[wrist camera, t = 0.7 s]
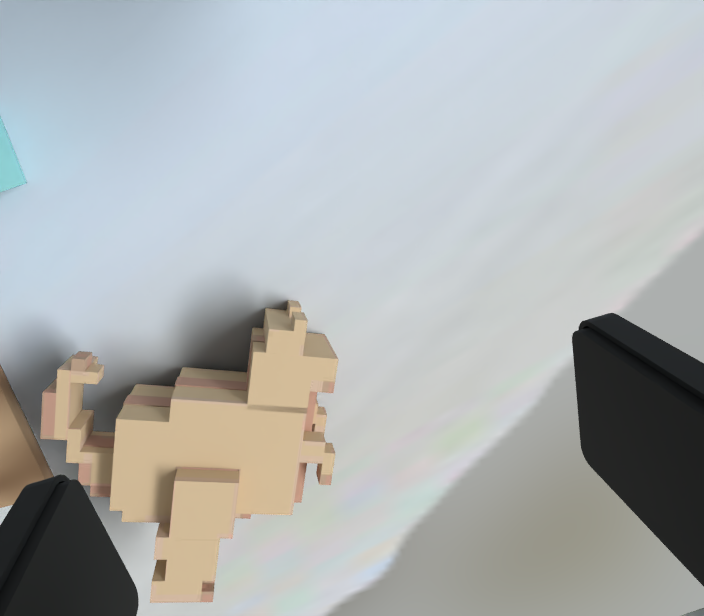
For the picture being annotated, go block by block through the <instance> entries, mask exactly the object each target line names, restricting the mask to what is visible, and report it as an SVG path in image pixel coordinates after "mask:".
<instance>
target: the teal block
mask: <svg viewBox="0 0 704 616" xmlns="http://www.w3.org/2000/svg"><path fill="white" fill-rule="evenodd" d="M25 183H27V182H26V179H25V177H24V174H23V172H22V169H21V167H20V164H19V162H18V159H17V157H16V154H15V152H14V149H13V147H12V144H11V142H10V139H9V137H8V134H7V132H6V129H5V127H4V124H3V122H2V119H1V117H0V192H2V191H5V190H8V189H11V188H14V187H17V186H19V185H22V184H25Z"/></svg>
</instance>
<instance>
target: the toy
mask: <svg viewBox="0 0 704 616" xmlns="http://www.w3.org/2000/svg"><path fill="white" fill-rule="evenodd" d="M306 329H307V318H306V316H305V314H304V313H302V312H301V306H300V304H299V302H298V301H289V300H288V304H287V310H279V309H270V308H265V316H264V324H263V328H254V327H252V335H251V343H250V351H249V360H248V368H247V372H237V371H225V370H212V369H200V368H188V367H182V370H181V373H180V375H179V377H177V380H176V382H175V387H172V386H158V385H144V384H136V385H135V386H134V388H133V390H132V392H131V394H130V395H128V396H127V397H126V399H125V401H124V403H123V408H122V409H121V411H120V413H119V415H118V417H117V418H116V427H115V432H99V431H93V422H94V410H82V403H83V387H84V383H85V384H98V383H99V381H100V380H101V379H102V377H103V375H104V365H100V364H97V360H98V357H95V356H92V352H81V351H79V352H78V353H77V354H76V355H72V356H71V357H70V358H69V359H68V360H67V361H66V362H65V363H64V364H63V365H62V366H61V367H59V368H58V369H57V378H56V379H55V380H54V381H53V382H52V383H51V384H50V385H49V386H48V387H47V388H46V389H45V390H44V391H43V392H42V414H41V436H40V439H53V440H67V452H66V463H79V472H78V481H79V482H80V483H81V485H89V486H91V487H90V496H95V497H110V509H109V511H122V522H156V523H160V524H159V527H158V531H157V535H156V542H155V553H154V560H157V562H156V566H155V571H154V575H153V579H152V586H151V597H150V603H168V602H213V594H214V581H215V576H216V568H217V559H218V551H219V542H220V538H231V539H232V537H233V529H234V521H235V518H248V519H250V517H251V514H273V515H292V513H293V506H294V502H300V503H301V500H302V493H303V487H304V480H305V473H306V466H307V463H318V466H317V472H316V473H317V477H318V481H319V485H331V479H332V472H333V466H334V459H335V451H334V448H333V445H332V443H326V442H325V439H324V431H325V424H326V418H327V414H326V411H325V408H324V407H318V403H317V400H316V397H317V392H326V393H333V391H334V384H335V378H336V371H337V364H338V358H337V356H336V354H335V352H334V351H333V349H332V347H331V345H330V343H329V341H328V340H327V338H326V336H325V334H315V333H306Z"/></svg>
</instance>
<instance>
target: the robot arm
mask: <svg viewBox="0 0 704 616" xmlns="http://www.w3.org/2000/svg"><path fill="white" fill-rule="evenodd" d="M572 343H573V355H574V367H575V380H576V391H577V403H578V416H579V427H580V440H581V449H582V452H583V455H584V457H585V459H586V461H587V462H588V464H589V465H590V466H591V467H592V468H593V470H594V471H595V472H596V473H597V474H598V475H599V476H600V477H601V478H602V479H603V480H604V481H605V482H606V483H607V484H608V485H609V486H610V488H611V489H612V490H613V491H614V492H615V493H616V494H617V495H618V496H619V497H620V498H621V499H622V500H623V501H624V502H625V503H626V505H627V506H628V507H629V508H630V509H631V510H632V511H633V512H634V513H635V514H636V515H637V516H638V517H639V518H640V519H641V520H642V521H643V523H644V524H645V525H646V526H647V527H648V528H649V529H650V530H651V531H652V532H653V533H654V534H655V535H656V536H657V537H658V538H659V539H660V541H661V542H662V543H663V544H664V545H665V546H666V547H667V548H668V549H669V550H670V551H671V552H672V553H673V554H674V555H675V556H676V557H677V559H678V560H679V561H680V562H681V563H682V564H683V565H684V566H685V567H686V568H687V569H688V570H689V571H690V572H691V573H692V574H693V576H694V577H695V578H696V579H697V580H698V581H699V582H700V583H701V584H702V585H703V586H704V363H702V362H700V361H698V360H697V359H695V358H693V357H691V356H689V355H688V354H686V353H684V352H682V351H680V350H679V349H677V348H675V347H673V346H672V345H670V344H668V343H666V342H665V341H663V340H661V339H659V338H657V337H656V336H654V335H652V334H650V333H649V332H647V331H645V330H643V329H642V328H640V327H638V326H636V325H634V324H632V323H631V322H629V321H627V320H626V319H624V318H622V317H620V316H619V315H617V314H614V313H609V314H605V315H602V316H599V317H595V318H592V319H588V320H585V321H582V322H581V323H580V326H579V330H578V331H575V332H574V333H573V336H572ZM137 610H138V593H137V589H136V586H135V584H134V582H133V580H132V578H131V577H130V575H129V573H128V571H127V569H126V567H125V565H124V563H123V562H122V560H121V558H120V556H119V554H118V552H117V550H116V548H115V547H114V545H113V543H112V541H111V539H110V537H109V535H108V533H107V531H106V530H105V528H104V526H103V524H102V522H101V520H100V518H99V516H98V515H97V513H96V511H95V509H94V507H93V505H92V503H91V501H90V500H89V498H88V496H87V494H86V492H85V490H84V488H83V486H82V485H81V483H80V482H79V481H78V480H75V479H74V480H69V478H67V477H66V476H65V475H58V476H55V477H51V478H48V479H45V480H41V481H38V482H34V483H31V484H28V485H26V486H25V487H24V488H23V489H22V491H21V493H20V494H19V496H18V498H17V499H16V501H15V503H14V504H13V506H12V507H11V509H10V511H9V512H8V514H7V516H6V517H5V519H4V521H3V522H2V524H1V525H0V616H136V614H137ZM681 616H704V608H702V609H699V610H696V611H693V612H690V613H687V614H684V615H681Z"/></svg>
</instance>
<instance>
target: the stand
mask: <svg viewBox="0 0 704 616" xmlns="http://www.w3.org/2000/svg"><path fill="white" fill-rule="evenodd" d="M51 477H54V476H53V474H52V472H51V470H50V468H49V466H48V464H47V461H46V459H45V457H44V455H43V453H42V451H41V449H40V447H39V445H38V443H37V441H36V438H35V436H34V434H33V432H32V430H31V428H30V426H29V424H28V422H27V420H26V418H25V415H24V413H23V411H22V409H21V407H20V405H19V403H18V401H17V399H16V397H15V395H14V392H13V390H12V388H11V386H10V384H9V382H8V380H7V378H6V376H5V374H4V372H3V369H2V367H1V365H0V508H1V507H5V506H9V505H13V504H14V503H15V501H16V499H17V498H18V496H19V494H20V493H21V491H22V489H23V488H24V487H25V486H26V485H28V484H31V483H34V482H38V481H41V480H45V479H48V478H51Z"/></svg>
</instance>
